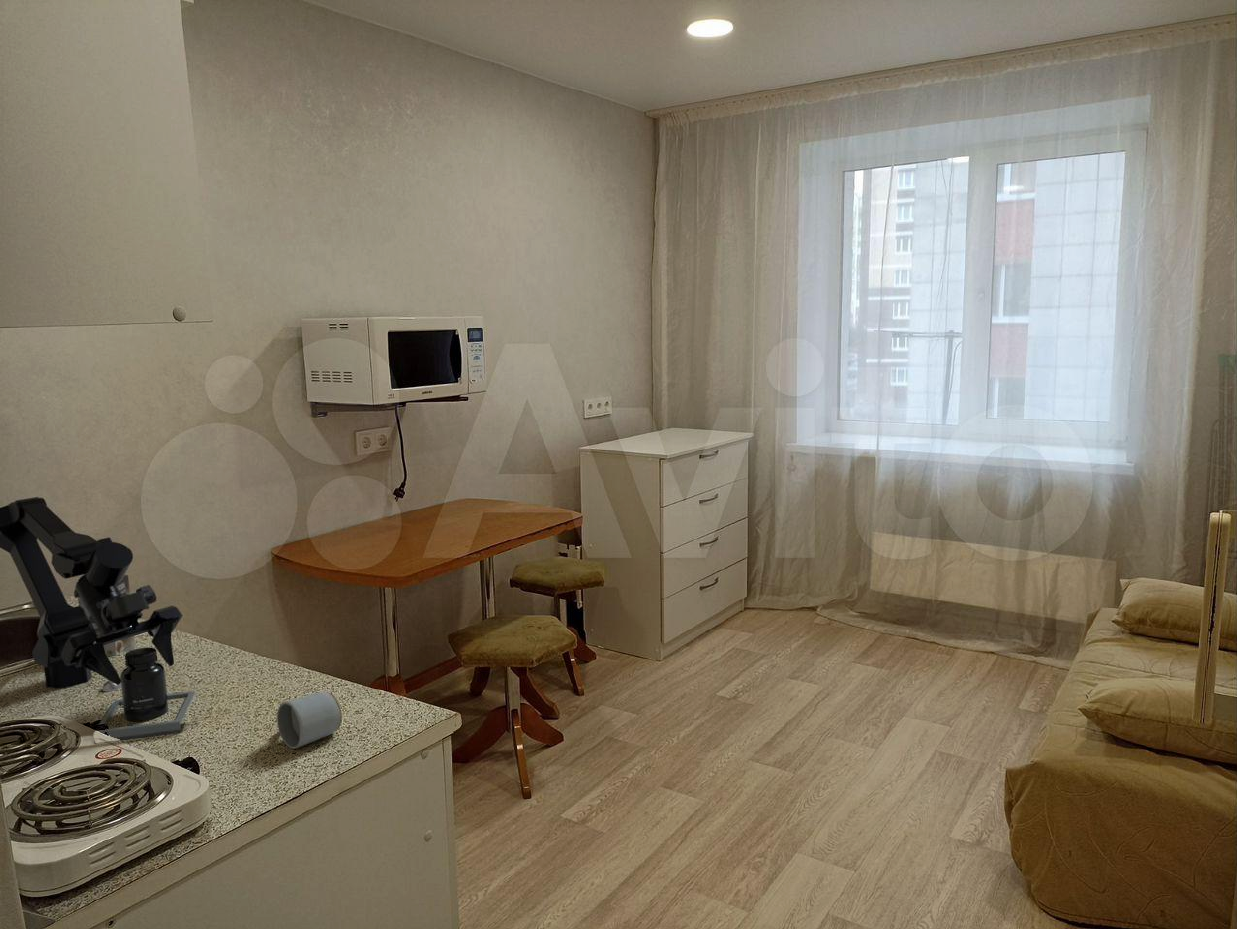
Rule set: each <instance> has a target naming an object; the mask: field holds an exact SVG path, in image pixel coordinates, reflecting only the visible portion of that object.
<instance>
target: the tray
mask: <svg viewBox="0 0 1237 929" xmlns="http://www.w3.org/2000/svg"><path fill="white" fill-rule="evenodd" d="M195 694H196V693H195V690H193V691H191V690H190V691H183V692H177V693H167V698H168V700H169V699H178V698H185V697H186V698H185V700H184V702H183V704H182V706H181V708H180V710H179V712H178V715H177V716H176V718H175V720H168V721H161V722H153V723H144V724H137V725H127V726H121V727H120V726H119V727H114V728H113V727H111V728H106V729H105V728H104V729H105V730H100V732H102V733H105V732H107V734H108V735H110V736H111V737H114V738H117V739H120V740H122V741H127V740H128V741H129V740H136V739H137V740H138V739H143V738H151V737H159V736H168V735H174V734H175V735H176V734H181V733H182V731H183V729H184V727H185V725H186V723H185V722H184V723H182V721H183V719H184V717H185V715H186V713H187V711H188V710H189V707H190V704H191V702H192V701H193V699H194V696H195ZM119 705H123V700H122V699H117V700H114V702H113V703H112V704H111V706H110V707H109V709H108V711H107V712H106V713H105V715H104V716H103V718H102V719H101V721H100V722H99V723H102V724H105V726H106V725H107V724H108V722H109V721H110V719H111V718H112V716H113V715H114V713H115V712H116V710H117V709H118V708H119Z"/></svg>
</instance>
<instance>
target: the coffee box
mask: <svg viewBox="0 0 1237 929" xmlns="http://www.w3.org/2000/svg"><path fill="white" fill-rule="evenodd" d="M117 587H118V588H119V590H120V592H121V593H122V594H125V593H126V594H127V595H129V594H131V588H130V582H129V575H128V574H125V575H124V577H123V579H122V580H121V582H120V583H119V584H117ZM77 599H78V600H77V601H78V602H77V603H78V606H81V607H82V608H83V609H84V612H85V614H86V617H87V618H88V620H89V618H90V616H91V615H90V613H89V611H88V609H87V608H86V606H85V604H84V602H83V601H82V599H81V597H78V598H77ZM92 626H93V627H94V629H95V632H96V634H97V635H100V634H101V632H100V631H99V629H98V627H97V625H96V624H95V623H93V624H92ZM103 646H104V650H105V653H106V655H107V657H116V656H118V655H120V654H121V653H125V652H126V653H127V652H129V651H131V650H134V649H136V635H135V636H132V637H129V638H125V639H122V640H119V641H116V642H113V643H109V644H106V645H103Z"/></svg>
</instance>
